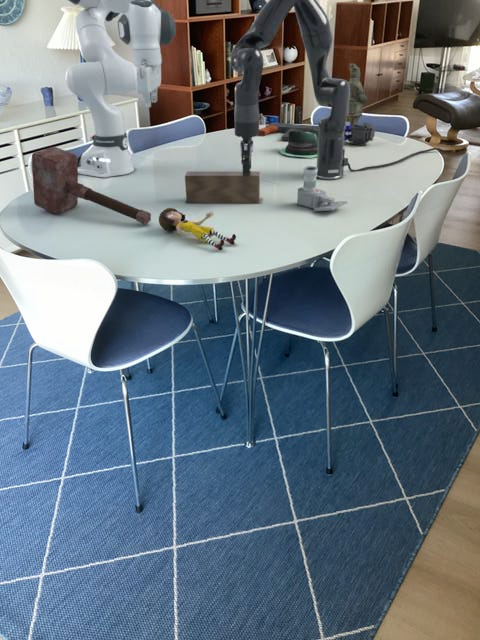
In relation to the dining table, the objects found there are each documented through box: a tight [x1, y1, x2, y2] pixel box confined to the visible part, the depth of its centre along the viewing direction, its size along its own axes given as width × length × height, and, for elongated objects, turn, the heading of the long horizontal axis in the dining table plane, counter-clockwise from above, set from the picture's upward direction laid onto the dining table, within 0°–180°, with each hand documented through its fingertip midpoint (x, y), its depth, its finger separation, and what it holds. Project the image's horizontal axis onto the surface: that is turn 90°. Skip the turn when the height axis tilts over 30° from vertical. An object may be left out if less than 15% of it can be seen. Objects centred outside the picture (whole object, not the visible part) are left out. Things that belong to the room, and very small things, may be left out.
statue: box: [346, 62, 368, 127], centre depth 262 cm, size 11×9×30 cm
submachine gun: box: [258, 122, 319, 141], centre depth 263 cm, size 32×3×25 cm
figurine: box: [158, 207, 237, 251], centre depth 153 cm, size 13×8×25 cm
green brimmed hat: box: [279, 128, 318, 159], centre depth 234 cm, size 15×19×20 cm
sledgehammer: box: [31, 146, 152, 226], centre depth 169 cm, size 17×10×40 cm
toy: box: [344, 122, 376, 146], centre depth 244 cm, size 9×9×15 cm
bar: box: [184, 170, 261, 204], centre depth 180 cm, size 24×5×9 cm, turn 86°
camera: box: [296, 165, 349, 212], centre depth 171 cm, size 9×12×15 cm
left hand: (151, 104), depth 184 cm, fingers open, 8 cm apart
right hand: (247, 172), depth 177 cm, fingers open, 8 cm apart
